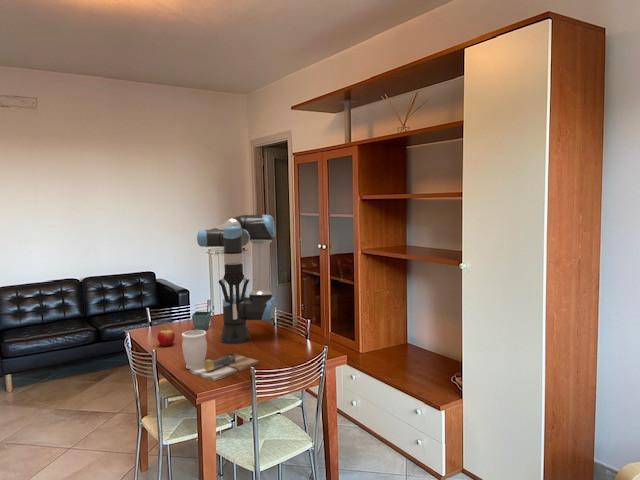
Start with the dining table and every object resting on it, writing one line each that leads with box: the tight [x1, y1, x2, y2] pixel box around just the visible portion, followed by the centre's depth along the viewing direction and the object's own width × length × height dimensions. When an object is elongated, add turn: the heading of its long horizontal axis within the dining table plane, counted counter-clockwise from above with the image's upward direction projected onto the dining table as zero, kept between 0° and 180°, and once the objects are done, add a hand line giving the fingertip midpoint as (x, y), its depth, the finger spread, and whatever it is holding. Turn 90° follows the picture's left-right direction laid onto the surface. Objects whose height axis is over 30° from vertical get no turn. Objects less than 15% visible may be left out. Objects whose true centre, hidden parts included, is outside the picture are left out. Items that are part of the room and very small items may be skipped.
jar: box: [181, 329, 208, 370], centre depth 210 cm, size 11×10×15 cm
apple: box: [156, 326, 176, 347], centre depth 240 cm, size 8×8×10 cm
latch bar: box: [204, 353, 236, 371], centre depth 205 cm, size 16×4×4 cm, turn 144°
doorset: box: [189, 353, 260, 382], centre depth 207 cm, size 16×25×6 cm, turn 142°
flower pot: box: [191, 311, 212, 331], centre depth 270 cm, size 9×9×9 cm
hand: (235, 318), depth 203 cm, fingers closed
